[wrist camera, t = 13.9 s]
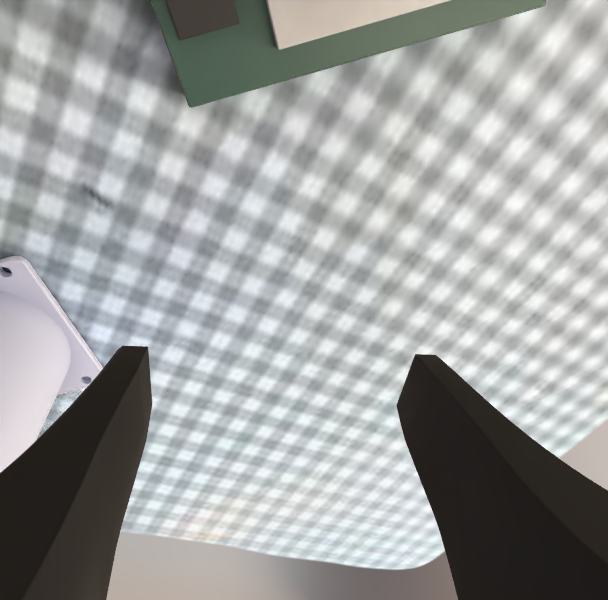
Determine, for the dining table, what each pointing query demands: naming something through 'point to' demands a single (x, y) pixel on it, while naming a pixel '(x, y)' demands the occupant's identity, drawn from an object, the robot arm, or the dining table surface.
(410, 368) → the robot arm
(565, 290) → the dining table surface
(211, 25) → the scale
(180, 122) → the dining table surface
